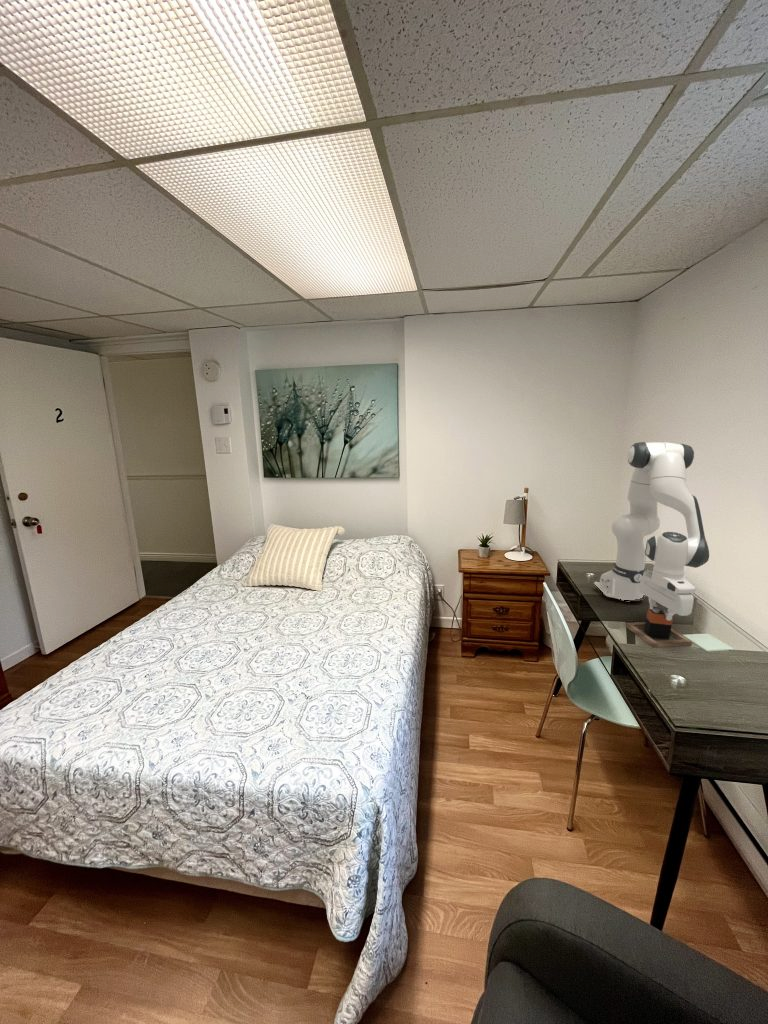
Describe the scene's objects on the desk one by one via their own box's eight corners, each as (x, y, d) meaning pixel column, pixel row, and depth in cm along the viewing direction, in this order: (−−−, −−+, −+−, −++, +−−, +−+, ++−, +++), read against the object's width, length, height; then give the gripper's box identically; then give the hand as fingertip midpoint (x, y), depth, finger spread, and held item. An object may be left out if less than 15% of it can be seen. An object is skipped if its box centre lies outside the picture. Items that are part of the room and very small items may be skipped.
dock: (625, 626, 148) (626, 623, 148) (660, 625, 149) (660, 621, 149) (653, 647, 135) (654, 643, 134) (691, 645, 136) (692, 641, 136)
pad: (682, 636, 142) (682, 634, 142) (707, 634, 143) (708, 633, 143) (706, 651, 132) (707, 650, 132) (734, 650, 133) (734, 649, 133)
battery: (643, 631, 145) (647, 606, 143) (664, 633, 143) (669, 608, 141) (648, 637, 141) (652, 611, 139) (669, 639, 139) (674, 614, 137)
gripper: (637, 568, 147) (631, 602, 150) (682, 591, 127) (674, 629, 130) (652, 567, 148) (647, 601, 151) (700, 590, 128) (692, 629, 131)
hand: (660, 614), depth 140 cm, fingers closed on battery, 5 cm apart
